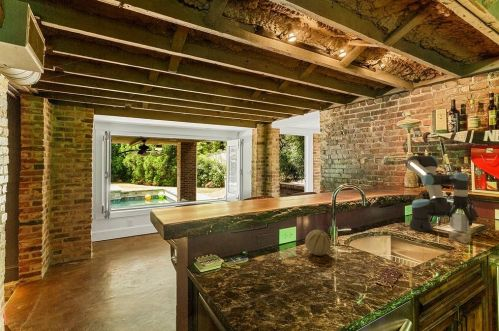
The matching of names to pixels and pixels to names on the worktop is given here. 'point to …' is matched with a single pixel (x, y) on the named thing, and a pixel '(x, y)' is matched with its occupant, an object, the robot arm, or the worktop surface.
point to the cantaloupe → (317, 242)
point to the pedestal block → (460, 236)
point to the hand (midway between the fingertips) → (459, 228)
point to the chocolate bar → (389, 275)
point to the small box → (459, 222)
